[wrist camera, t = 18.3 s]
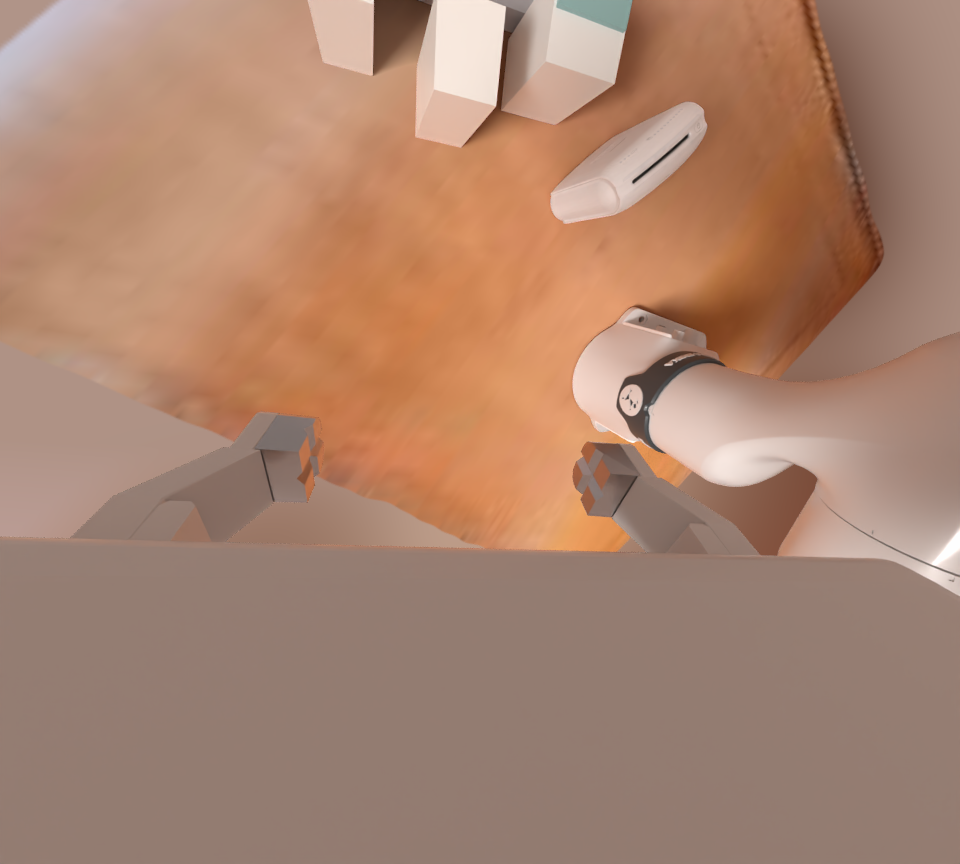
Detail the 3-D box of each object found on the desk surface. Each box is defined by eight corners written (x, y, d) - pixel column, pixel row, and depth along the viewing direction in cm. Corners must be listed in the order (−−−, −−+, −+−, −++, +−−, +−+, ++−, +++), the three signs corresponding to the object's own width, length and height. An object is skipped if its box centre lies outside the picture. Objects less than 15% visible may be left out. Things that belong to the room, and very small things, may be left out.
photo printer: (616, 128, 37) (715, 78, 26) (630, 169, 39) (726, 138, 29) (542, 193, 38) (608, 170, 27) (559, 230, 40) (627, 221, 29)
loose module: (465, 77, 32) (506, 3, 22) (461, 147, 34) (496, 106, 24) (417, 63, 30) (438, -23, 21) (415, 137, 33) (433, 89, 23)
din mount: (569, 34, 32) (645, -49, 23) (555, 125, 35) (617, 81, 26) (315, -59, 26) (286, -222, 17) (322, 62, 29) (302, -24, 20)
